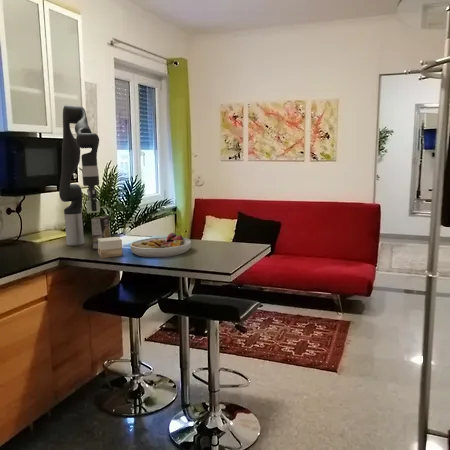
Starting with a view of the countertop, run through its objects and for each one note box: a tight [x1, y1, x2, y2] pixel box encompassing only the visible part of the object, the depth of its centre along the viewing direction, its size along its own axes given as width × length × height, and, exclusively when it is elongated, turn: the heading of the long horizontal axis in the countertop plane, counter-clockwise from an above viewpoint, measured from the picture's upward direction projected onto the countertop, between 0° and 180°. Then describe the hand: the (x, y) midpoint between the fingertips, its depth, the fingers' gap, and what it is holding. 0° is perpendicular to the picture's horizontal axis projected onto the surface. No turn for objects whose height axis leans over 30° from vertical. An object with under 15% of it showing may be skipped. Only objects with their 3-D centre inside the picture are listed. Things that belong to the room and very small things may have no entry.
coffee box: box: [90, 215, 112, 250], centre depth 247 cm, size 9×6×16 cm
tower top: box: [98, 236, 123, 250], centre depth 227 cm, size 10×10×4 cm
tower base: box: [97, 247, 123, 258], centre depth 228 cm, size 10×10×4 cm
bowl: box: [129, 232, 192, 258], centre depth 231 cm, size 30×30×8 cm
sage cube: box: [85, 199, 101, 214], centre depth 224 cm, size 6×6×6 cm
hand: (93, 210), depth 225 cm, fingers closed on sage cube, 5 cm apart
